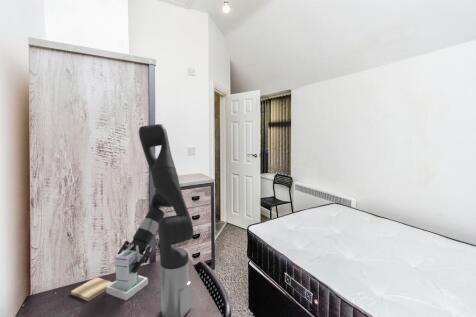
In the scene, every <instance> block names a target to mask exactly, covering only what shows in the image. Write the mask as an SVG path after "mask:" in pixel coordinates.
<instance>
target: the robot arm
mask: <svg viewBox="0 0 476 317" xmlns="http://www.w3.org/2000/svg"><path fill="white" fill-rule="evenodd" d="M138 136H139V140H140V144H141V148H142V150H143V154H144V156H145V159H146V162H147V164H148V168H149V171H150V173H151V174H150V175H151V179H152V184H153V187H154V189H155V190H156V192H155V193H154V194H153V196H152V200H151V202H150V207H149V210H148V212H147V213H146V215H145V217H144V218H143V220H142V221H141V222H140V224H139V225H138V226H139V227H138V228H137V230H136V231H135V233H134V235H133V237H132V241H131V242H130V241H129V240H125V241H124V243H123V244H122V246H121V247H120V249H119V251H118V252H117V255H119V254H120V253H122V252H124V251H125V250H134V251H136V256H137V262H136V263H135V265H134V267H133V268H132V270H131V272H132V273H136V272H137V271H138V272H139V269H140V267H142V266H141V265H142V264H147V263H148V261H149V259H150V257H151V255H152V253H153V250H154V248H153V247H152V246H150V244H151V243H152V240H153V239H154V237H155V235H156V233H157V231H158V241H159V242H158V243H159V258H160V262H159V264H160V266H159V267H160V303H161V305H160V307H161V316H162V317H185V316H186V314H188V312H190V310H191V309H192V282H191V281H189V253H188V251H187V250H186V249H184V248H179V247H173V245H176V244H180V243H184V242H188V241H190V240H191V239H193V236H194V227H193V226H194V225H193V222H192V219H191V216H190V212H189V210H188V207H187V204H186V202H185V199H184V195H183V192H182V188H181V185H180V181H179V177H178V176H179V175H178V172H177V169H176V166H175V162H174V160H173V156H172V151H171V147H170V142H169V138H168V133H167V129H166V127H165V125H164V124H162V123H157V124H148V125H142V126H140V127H139V128H138ZM160 146H161V147H160ZM153 147H160V151H159V153H158V156H157V157H156V155H154V153H153V152H152V148H153ZM161 207H165V208H173V210H174V212H175V215H171V216H165V212H164V211H163V210H162V209H160V208H161Z"/></svg>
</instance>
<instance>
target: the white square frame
mask: <svg viewBox="0 0 476 317" xmlns="http://www.w3.org/2000/svg"><path fill="white" fill-rule="evenodd" d="M138 281H139V283H138V284H137V285H136V286H134V287H133V288H131V289H130V290H129V291H127V292H124V291H122V290H119V289H117V282H116V280H114V281H112V282H113V283H111V284H110V285H108V286H107V287H106V290H105V292H106V294H108V295H111V296H112V297H116V298H119V299H121V300H124V301H127V300H129V299H131V298H132V297H133V296H135V294H137V293H138V292H140V290H143V288H145V287H146V286H147V285H148V284H149V278H148V277H146V276H142V275H139V274H138Z"/></svg>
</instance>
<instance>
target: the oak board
mask: <svg viewBox="0 0 476 317" xmlns="http://www.w3.org/2000/svg"><path fill="white" fill-rule="evenodd" d="M113 282H114V281H110V280H107V279H103V278H101V277H97V276H96V277H93V278H92V279H90V280H88V281H86V282H85V283H84V284H82V285H79V286H77V287H76V288H74V289H72V290H71V291H70V294H71V295H72V296H74V297H77V298H80V299H83V300H85V301H87V302H90V301H91V300H93V299H94V298H96V297H97V296H99V295H101V294H103V293H104V292H106V287H107V286H108V285H110V284H111V283H113Z"/></svg>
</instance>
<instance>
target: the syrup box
mask: <svg viewBox="0 0 476 317" xmlns="http://www.w3.org/2000/svg"><path fill="white" fill-rule="evenodd" d="M114 260H115V278H116V280H115V281H116V282H117V288H116V289H119V290H122V291H124V292H127V291H129V290H130V289H131V288H133V287H134V286H136V285H137V284H138V283H139V281H138V275H139V270H138V271H137V272H136V273H132V272H131V270H132V268H133V267H134V265H135V263H136V262H137V256H136V251H134V250H125V251H124V252H123V251H122V253H120V254H119V255H118V254H117V255H116V256H115V258H114Z"/></svg>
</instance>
